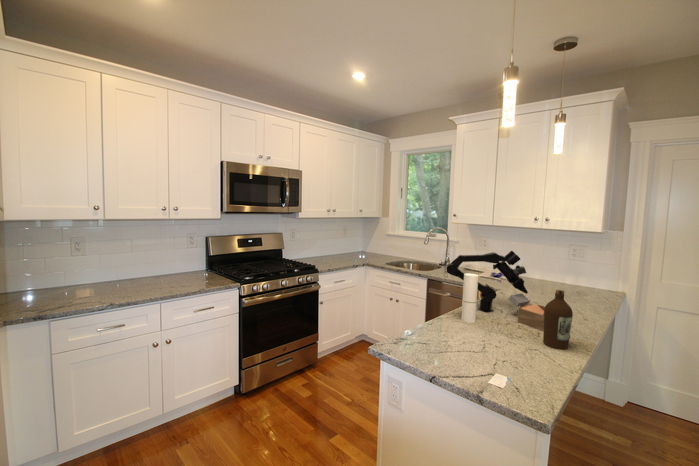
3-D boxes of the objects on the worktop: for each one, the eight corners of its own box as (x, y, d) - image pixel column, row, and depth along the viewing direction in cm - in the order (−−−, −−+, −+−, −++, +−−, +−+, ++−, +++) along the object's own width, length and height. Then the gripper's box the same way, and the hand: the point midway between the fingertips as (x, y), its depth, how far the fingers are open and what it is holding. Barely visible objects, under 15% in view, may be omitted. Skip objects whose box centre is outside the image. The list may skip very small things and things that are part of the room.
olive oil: (536, 341, 147) (540, 287, 145) (555, 339, 149) (559, 287, 147) (555, 351, 136) (560, 294, 134) (575, 349, 139) (580, 293, 137)
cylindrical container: (475, 319, 173) (478, 274, 171) (474, 323, 167) (478, 276, 165) (461, 317, 176) (464, 272, 174) (460, 321, 170) (463, 275, 168)
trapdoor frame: (544, 331, 159) (545, 316, 158) (517, 322, 171) (518, 308, 170) (563, 326, 167) (564, 312, 167) (537, 317, 180) (538, 304, 179)
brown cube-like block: (534, 314, 185) (534, 306, 185) (524, 314, 185) (524, 305, 185) (529, 311, 191) (530, 303, 190) (519, 310, 191) (520, 302, 191)
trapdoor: (539, 332, 163) (543, 328, 161) (505, 299, 179) (508, 295, 178) (555, 327, 169) (558, 324, 168) (521, 296, 186) (524, 293, 184)
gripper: (521, 264, 174) (542, 286, 172) (513, 259, 192) (532, 279, 190) (504, 276, 177) (524, 298, 175) (498, 270, 195) (516, 290, 193)
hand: (525, 291), depth 183 cm, fingers open, 9 cm apart
